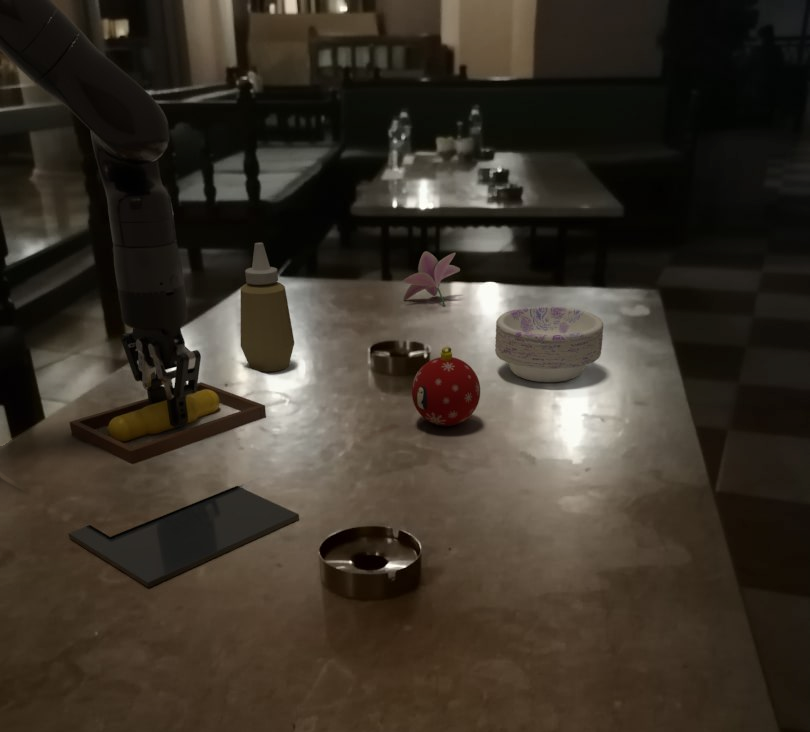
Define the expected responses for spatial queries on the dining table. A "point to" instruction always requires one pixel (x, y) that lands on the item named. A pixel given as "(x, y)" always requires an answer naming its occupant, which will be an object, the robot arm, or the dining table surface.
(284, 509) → the board
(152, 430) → the yellow segmented rod
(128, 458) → the tray
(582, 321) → the paper bowls
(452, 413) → the christmas ornament
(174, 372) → the robot arm
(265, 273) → the squeeze bottle
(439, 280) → the lily
